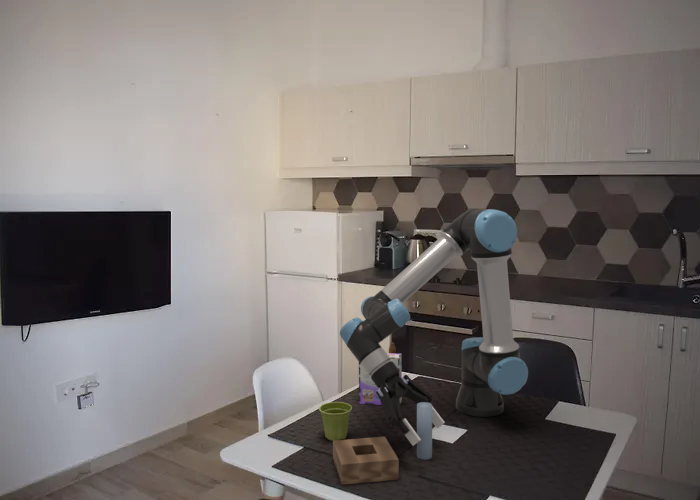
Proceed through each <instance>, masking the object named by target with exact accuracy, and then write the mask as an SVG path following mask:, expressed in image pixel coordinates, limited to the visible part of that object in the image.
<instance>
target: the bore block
mask: <svg viewBox="0 0 700 500" xmlns="http://www.w3.org/2000/svg"><path fill="white" fill-rule="evenodd" d="M332 460H334V461H333V462H334V463H333V464H334V466H335V468H336V472H337V474H338V475H337V476H338V477H339V480H340V485H343V486H344V485H353V484H361V483H362V484H364V483H375V482H383V481H385V482H386V481H394V480H399V477H400V475H399V472H400V471H399V467H400V466H399V462H400V461H399V458H398V456H397V453H396V452H395V451H394V449H393V447H392V446H391V444H390V443H389V441H388V439H387V438H386V436H377V437H375V436H374V437H362V438H360V437H359V438H351V439H350V438H349V439H340V440H336V441H332Z"/></svg>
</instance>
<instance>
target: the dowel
mask: <svg viewBox="0 0 700 500" xmlns="http://www.w3.org/2000/svg"><path fill="white" fill-rule="evenodd" d="M432 406H433V404H432V403H431V402H430V403H427V402H420V403H416V433H417V435H418V436H419V437H420V439H421V440H420V441H419V442H418V443H416V457H417V459H420V460H425V461H426V460H430V459H432V458H433V422H432Z"/></svg>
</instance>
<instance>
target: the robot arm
mask: <svg viewBox="0 0 700 500" xmlns="http://www.w3.org/2000/svg"><path fill="white" fill-rule="evenodd" d="M439 233H440V235H439V238H438V239H436V241H434V242H433V243H432V244H431V245H430V246H429V247H427V249H426V250H424V251H423V252H422V253H421V254H420V255H419V256H418V257H417V258H416V259H414V260H413V261H412V262H411V263H410V264H409V265H408V266H406V267H405V268H404V269H403V270H402V271H401V272H400V273H399V274H397V275H396V277H394V278H393V279H391V280H390V282H389V283H387V284H386V285H385V286H384V287H383V288H382V289H381V290H379V292H377V293H376V294H375V295H373V296H368V297H366V298H365V299H363V301H362V303H361V305H360V313H361V315H362V316H363V318H364V320H362V319H361V318H360V317H354V318H352V319H350V320H348V322H346V323H345V324H344V325H342V327H341V328H340V330H339V336H340V338H341V339H342V341H343V342H344V343H345V346H346V347H347V348H348V350H349V351H350V352H351V354H352V355H353V356H354V357H355V359H356V360H357V361H358V364H359V363H360V364H361V365H362V366H363V368H364V369H365V371H366V372H367V373H368V375H372V376H371V379H372V381H373V382H374V383H375V385H376V386H377V387H378V388H380V389H379V390H378V391H377V392H376V394H377V395H378V397H379V399H380V401H381V404H382V405H381V406H382V409H383V412H384V415H385V418H386V420H387V421H386V422H387V423H388V425H390V426H392V427H396V426H397V427H398V429H399V430H400V432H401V433H402V434H403V435H404V436H405V438H407V440H408V442H409V443H410V445H412V447H414V446H415V445H417V443H418V442H419V441H420V440H421V439H420V437H419V436H418V435H417V431H415V429H414V428H413V427H412V425H411V424H410V423H409V421H408V420H407V418H403V413H402V409H401V407H402V406H401V404H400V401H399V398H401V397H402V398H407V399H409V400H410V401H413V402H415V403H416V404H418V403H420V402H427V403H431V402H432V401H433V396H432V395H431V394H429V392H427V391H426V390H425V389H424V388H422V387H421V386H419V385H418V384H417V383H416V382H415V381H413V380H412V379H411V378H410V376H409V375H408V374H404V375H402V378H400V377H399V375H398V374H399V369H398V368H397V367H396V365H395V364H394V363H393V362H392V361H390V357H389V356H388V355H387V353H388V352H386V351H385V349H384V348H383V347H382V346H381V344H380V343H381V342H383V341H384V340H385V339H387V338H388V337H389V336H391V335H392V334H394V333H395V332H396V331H398V330H399V329H400V328H403V327H404V326H405V324H407V323H408V322H409V321H410V319H411V315H410V312H409V311H408V309H407V308H406V306H405V305H404V303H405V302H406V301H408V300H409V299H410V298H411V297H412V296H413V295H414V294H415V293H417V292H418V291H419V290H420V289H421V288H422V287H423V286H425V284H427V282H429V281H430V280H431V279H433V277H434V276H435V275H436V274H438V273H439V272H440V271H441V270H443V269H444V267H446V265H448V264H449V263H450V262H451V261H452V260H453V259H454V258H456V257H457V256H460V257H461V256H463V255H465V253H466V252H467V251H469V250H470V258H471V259H472V260H473V261H474V262H475V263H476V268H477V280H478V281H477V282H478V289H479V290H478V292H479V301H480V303H479V304H480V315H481V325H482V336H480V337H469V338H465V339H463V340H462V343H461V384H460V387H459V390H458V392H457V397H456V399H455V409H456V410H457V411H458V412H460V413H462V414H465V415H469V416H472V417H479V418H480V417H481V418H482V417H483V418H484V417H485V418H487V417H488V418H490V417H495V416H499V415H501V414H503V413H504V408H505V407H504V406H505V404H504V400H503V396H502V395H505V396H506V395H508V396H509V395H513V394H515V393H517V392H518V391H520V390H521V389H522V388H523V386H525V384H526V383H527V380H528V376H529V369H528V366H527V364H526V363H525V361H524V360H522V359H521V354H520V353H521V352H520V346H519V344H518V342H516V341H515V340H514V333H513V332H514V331H513V321H512V310H511V309H512V307H511V306H512V305H511V295H510V283H509V271H508V260H509V259H510V258H511V256H512V255H513V252H512V247H513V246H514V243H515V242H516V240H517V238H518V228H517V224H516V222H515V220H514V219H513V218H512V216H510V215H509V214H508V213H507V212H505V211H502V210H498V209H494V208H491V209H490V208H489V209H488V208H486V209H485V208H483V209H482V208H481V209H480V208H473V209H470V210H467V211H464V212H463V213H461V214H460V215H459V216H458V217H456V218H455V219H454V220H453V221H452V222H450V224H449V225H447V226H446V227H445V228H444V229H443V230H442V231H441V232H439ZM444 424H445V420H444V419H443V418H442V417H441V416H440V414H439V413H438V412H437V410H436V409H435V406H433V405H432V425H434V426H435V428H436V429H439V428H440V427H441V426H443V425H444Z"/></svg>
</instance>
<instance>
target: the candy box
mask: <svg viewBox="0 0 700 500" xmlns="http://www.w3.org/2000/svg"><path fill="white" fill-rule="evenodd" d="M386 353H387V355H388V356H389V357H390V361H392V362H393V363H394V364H395V365H396V367H397V368H398V369H399V374H398V375H399V377H400V378H402V377H403V375H402V372H403V371H402V370H403V369H402V368H403V367H402V353H396V354H395V353H389V352H386ZM371 376H372V375H368V373H367V372H366V371H365V369H364V368H363V366H362V365H361V364H360V363H359V362H358V395H359V396H358V404H360V405H373V406H382V404H381V401H380V399H379V397H378V395H377V394H376V392H377V391H378V390H379V389H380V388H378V387H377V386H376V385H375V383H374V382H373V381H372V379H371ZM402 399H403V397H401V398H399V401H400V405H401V404H402V401H403V400H402Z"/></svg>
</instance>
